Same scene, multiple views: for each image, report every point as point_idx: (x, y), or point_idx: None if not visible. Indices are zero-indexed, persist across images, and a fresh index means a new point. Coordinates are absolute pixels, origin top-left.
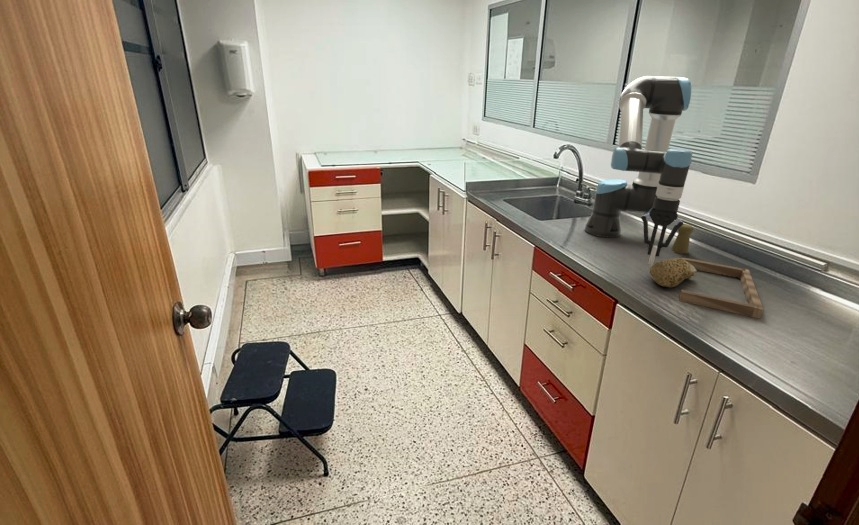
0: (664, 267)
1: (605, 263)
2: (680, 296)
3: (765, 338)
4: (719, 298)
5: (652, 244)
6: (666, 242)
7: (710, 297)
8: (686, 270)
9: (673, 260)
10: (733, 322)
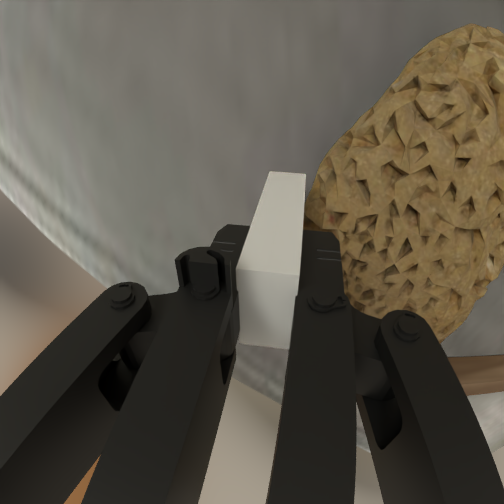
0: (366, 312)
1: (66, 137)
2: None
3: (492, 417)
4: (493, 385)
5: (223, 366)
6: (375, 429)
7: (470, 392)
8: (495, 277)
9: (460, 213)
10: (475, 401)
